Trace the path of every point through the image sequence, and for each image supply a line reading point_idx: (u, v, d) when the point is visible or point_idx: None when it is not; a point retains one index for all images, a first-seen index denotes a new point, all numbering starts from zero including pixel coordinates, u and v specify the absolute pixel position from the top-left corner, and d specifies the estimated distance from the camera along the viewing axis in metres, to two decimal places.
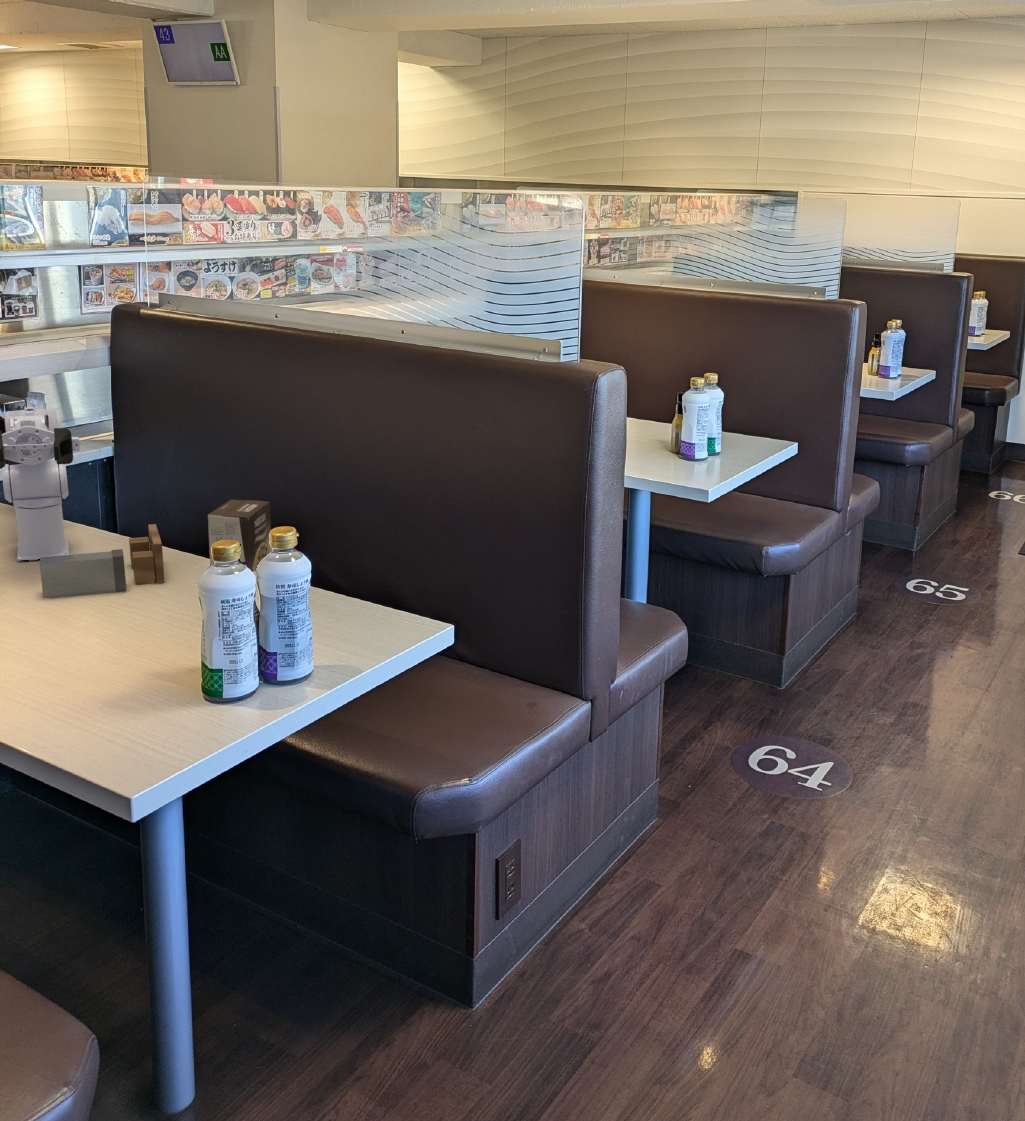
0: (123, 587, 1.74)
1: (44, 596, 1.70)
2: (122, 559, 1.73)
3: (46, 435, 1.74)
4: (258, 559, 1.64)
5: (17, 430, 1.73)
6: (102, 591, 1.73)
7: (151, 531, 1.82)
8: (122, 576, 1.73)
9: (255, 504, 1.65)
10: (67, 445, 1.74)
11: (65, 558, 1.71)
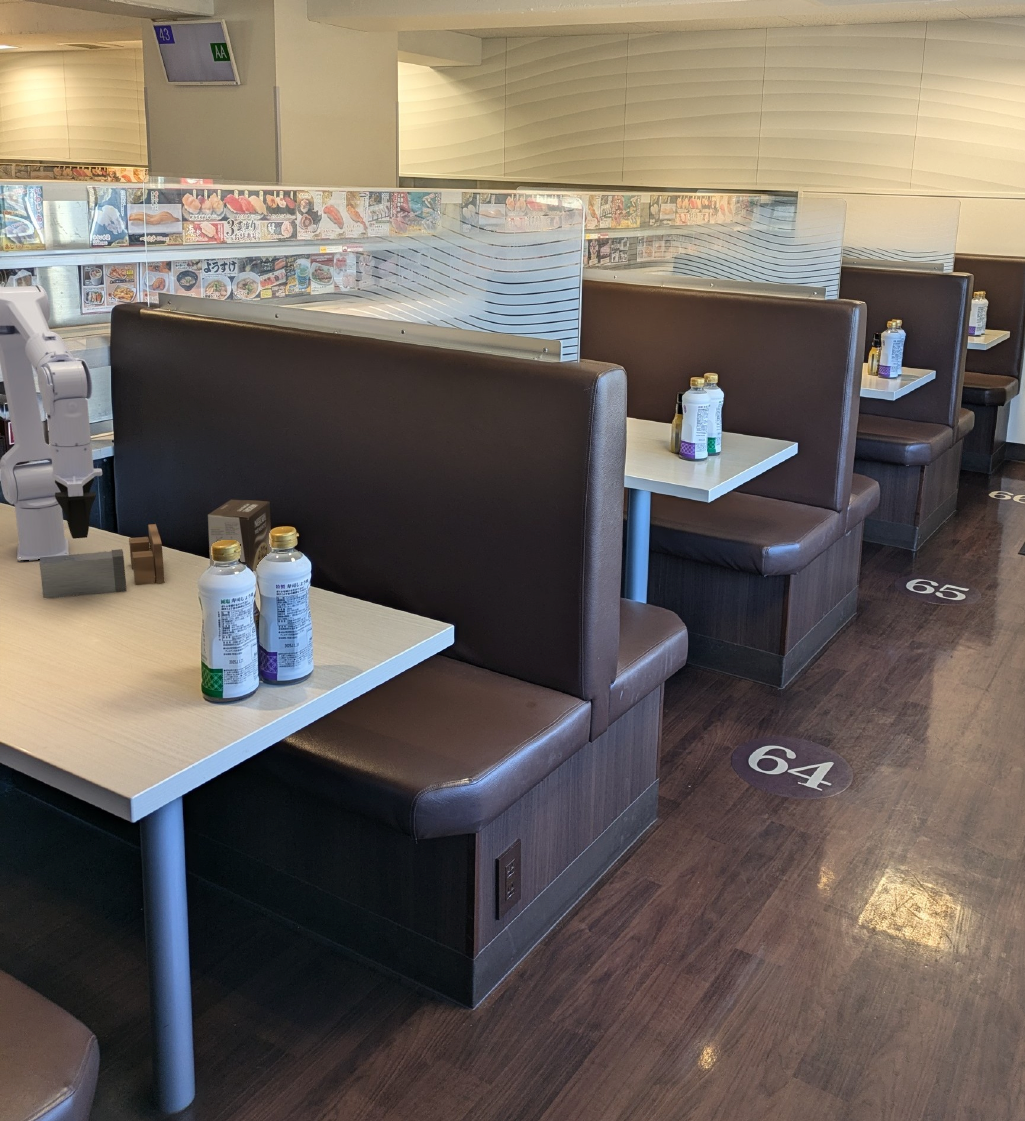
0: (123, 587, 1.74)
1: (44, 596, 1.70)
2: (122, 559, 1.73)
3: None
4: (258, 559, 1.64)
5: (91, 478, 1.67)
6: (102, 591, 1.73)
7: (151, 531, 1.82)
8: (122, 575, 1.73)
9: (255, 504, 1.65)
10: None
11: (65, 558, 1.71)
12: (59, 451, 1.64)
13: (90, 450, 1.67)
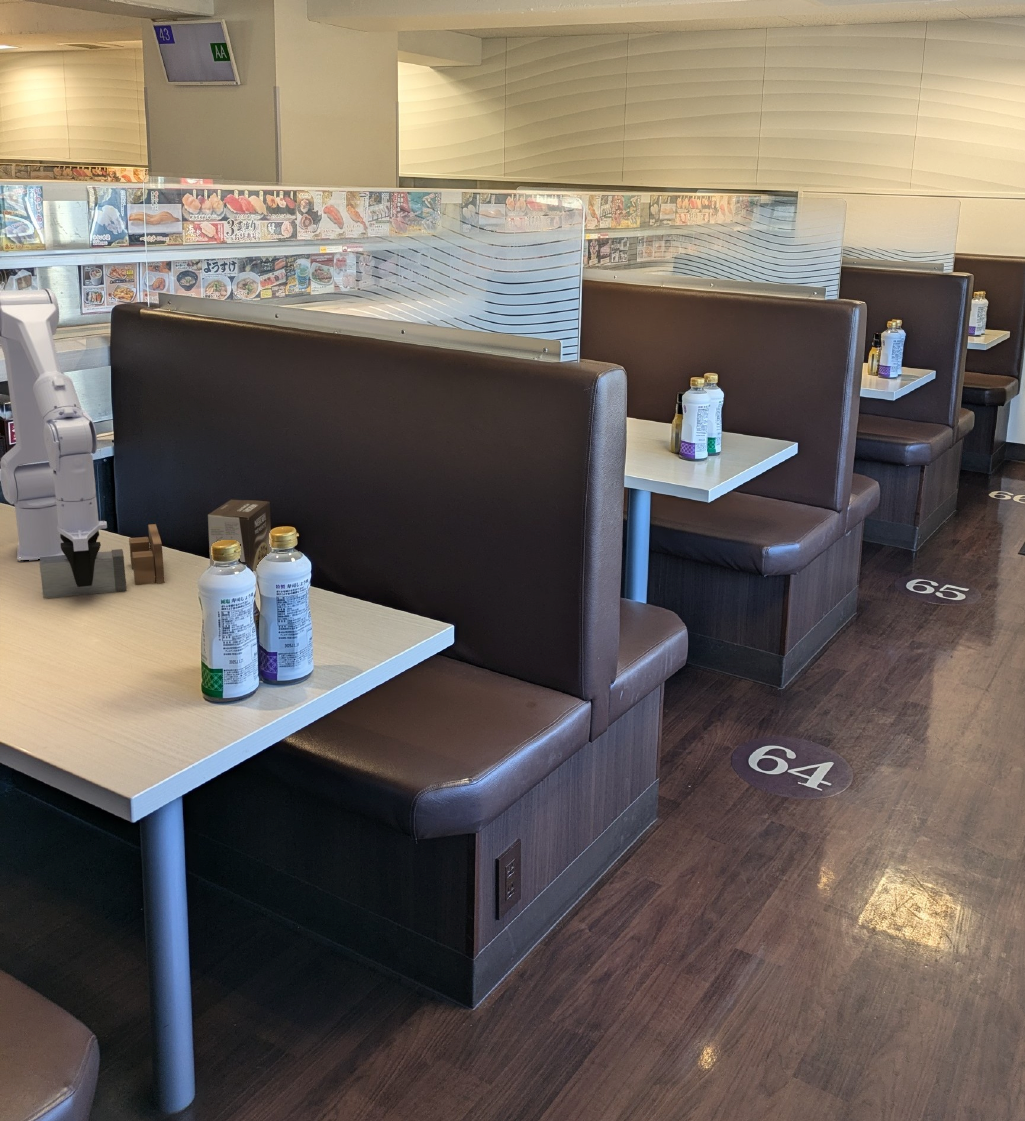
0: (123, 587, 1.74)
1: (44, 596, 1.70)
2: (122, 559, 1.73)
3: None
4: (258, 559, 1.64)
5: (96, 531, 1.70)
6: (102, 591, 1.73)
7: (151, 531, 1.82)
8: (122, 575, 1.73)
9: (255, 504, 1.65)
10: None
11: (65, 558, 1.71)
12: (65, 506, 1.67)
13: (95, 504, 1.69)
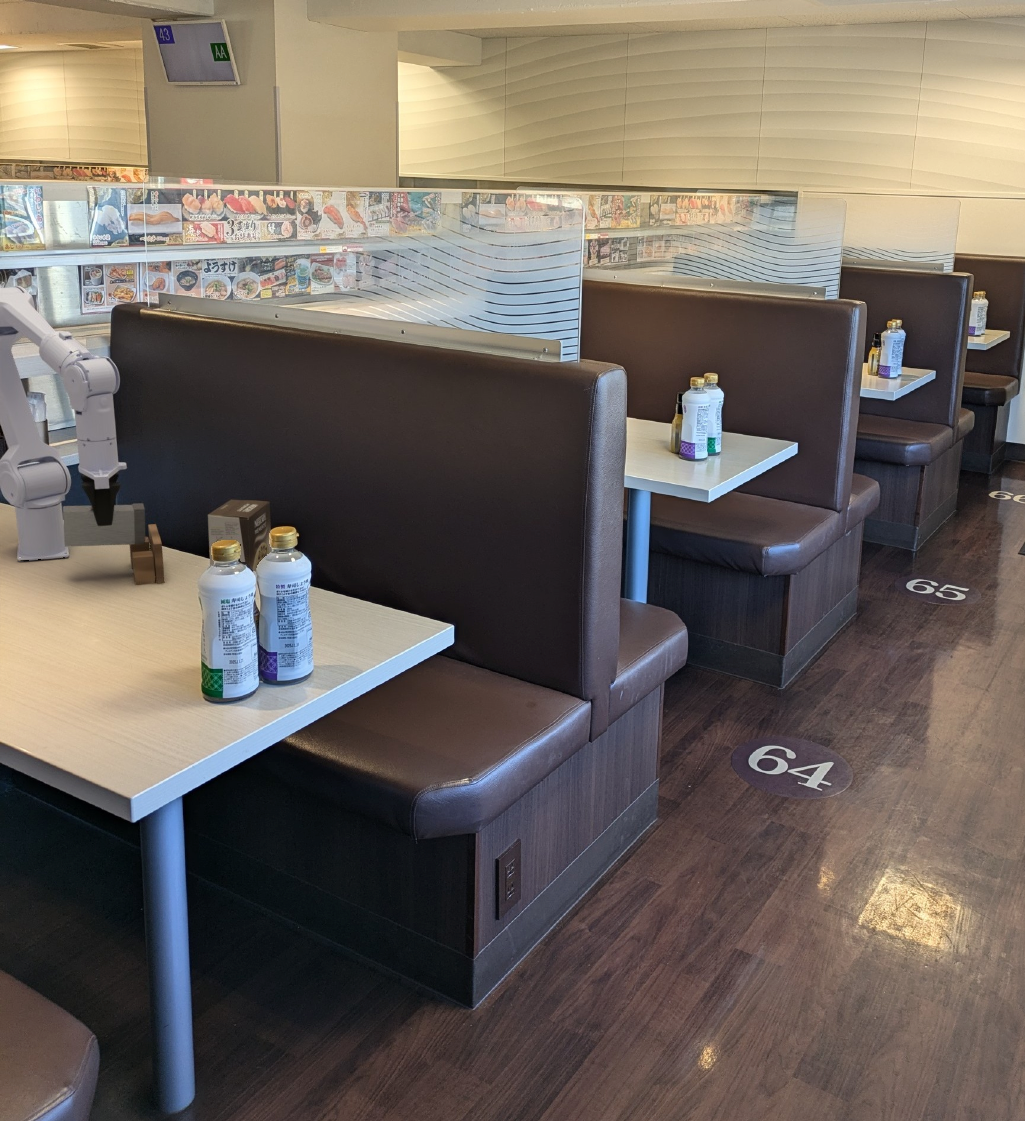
0: (142, 540, 1.79)
1: (65, 544, 1.75)
2: (143, 512, 1.78)
3: None
4: (258, 559, 1.64)
5: None
6: (122, 542, 1.78)
7: (151, 531, 1.82)
8: (142, 528, 1.78)
9: (255, 504, 1.65)
10: None
11: (87, 508, 1.76)
12: (86, 445, 1.71)
13: (115, 444, 1.74)
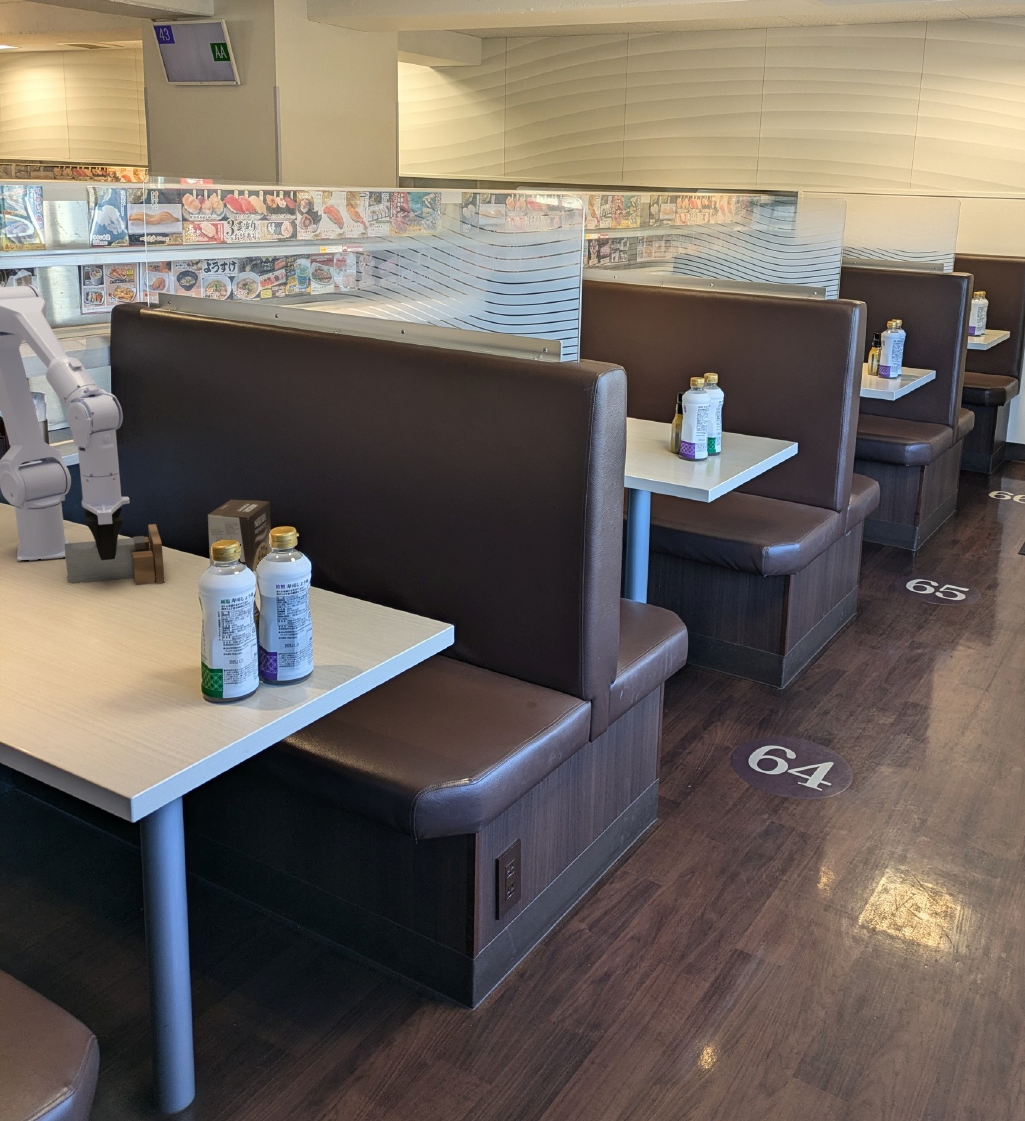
0: None
1: (69, 581, 1.77)
2: (144, 545, 1.79)
3: None
4: (258, 559, 1.64)
5: (119, 506, 1.76)
6: (124, 576, 1.80)
7: (151, 531, 1.82)
8: None
9: (255, 504, 1.65)
10: None
11: (89, 544, 1.78)
12: (89, 481, 1.73)
13: (118, 479, 1.75)
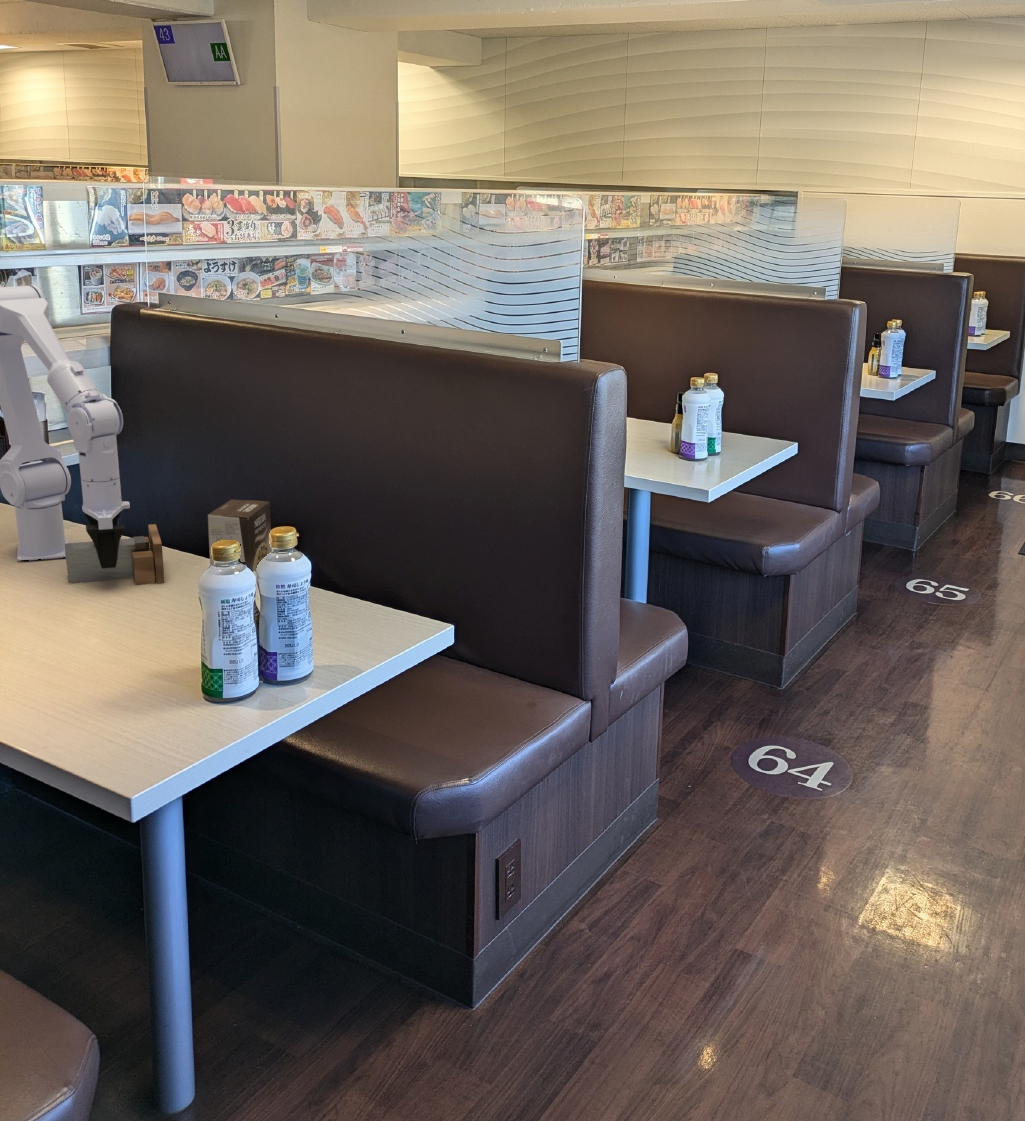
0: None
1: (69, 581, 1.77)
2: (144, 545, 1.79)
3: None
4: (258, 559, 1.64)
5: (120, 510, 1.76)
6: (124, 576, 1.80)
7: (151, 531, 1.82)
8: None
9: (255, 504, 1.65)
10: None
11: (89, 544, 1.78)
12: (90, 486, 1.73)
13: (119, 484, 1.76)
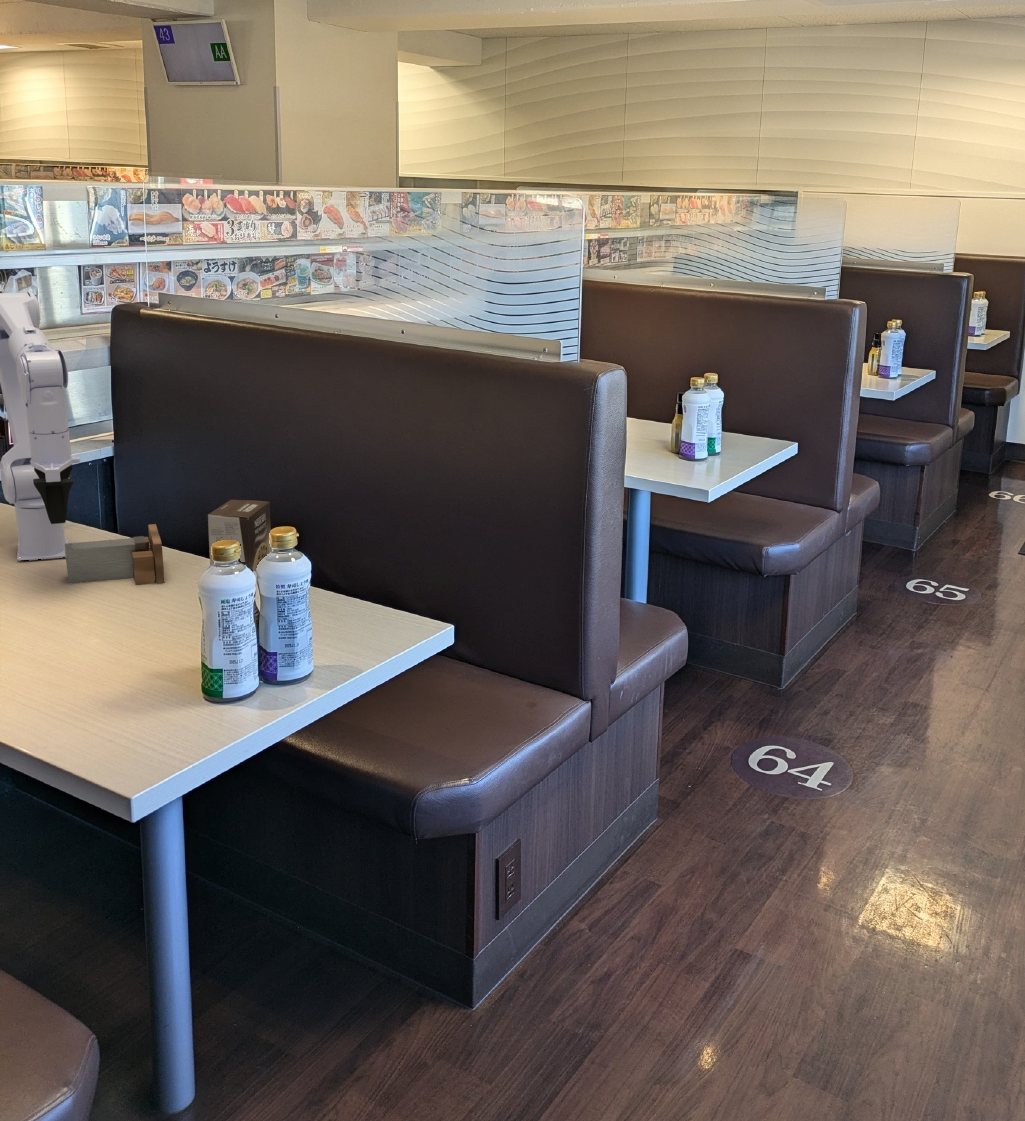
0: None
1: (69, 581, 1.77)
2: (144, 545, 1.79)
3: None
4: (258, 559, 1.64)
5: (69, 465, 1.72)
6: (124, 576, 1.80)
7: (151, 531, 1.82)
8: None
9: (255, 504, 1.65)
10: None
11: (89, 544, 1.78)
12: (37, 438, 1.69)
13: (68, 438, 1.71)
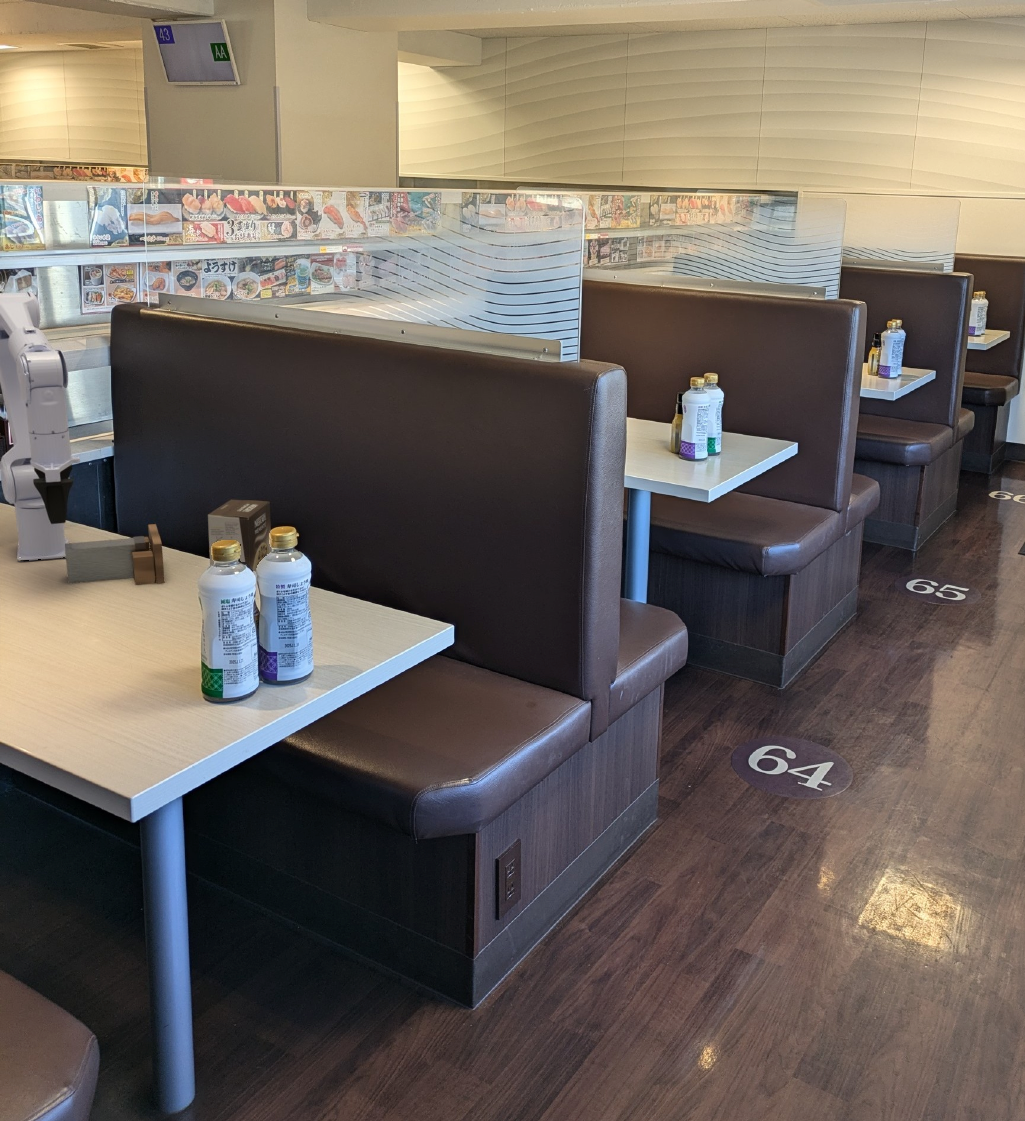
0: None
1: (69, 581, 1.77)
2: (144, 545, 1.79)
3: None
4: (258, 559, 1.64)
5: (69, 465, 1.72)
6: (124, 576, 1.80)
7: (151, 531, 1.82)
8: None
9: (255, 504, 1.65)
10: None
11: (89, 544, 1.78)
12: (37, 438, 1.69)
13: (68, 438, 1.71)
